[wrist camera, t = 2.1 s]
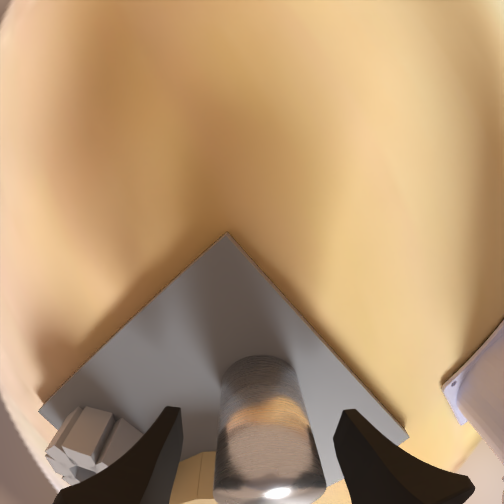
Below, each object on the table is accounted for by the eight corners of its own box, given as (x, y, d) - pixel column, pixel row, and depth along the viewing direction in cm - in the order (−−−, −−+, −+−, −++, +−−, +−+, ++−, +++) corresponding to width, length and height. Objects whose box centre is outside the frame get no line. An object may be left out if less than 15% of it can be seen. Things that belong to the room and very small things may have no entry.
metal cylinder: (265, 340, 14) (281, 453, 7) (312, 385, 14) (345, 488, 8) (206, 382, 14) (189, 491, 7) (255, 420, 15) (262, 522, 8)
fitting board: (227, 231, 14) (218, 256, 9) (404, 429, 17) (430, 471, 12) (43, 404, 16) (14, 442, 11) (219, 518, 19) (217, 555, 15)
